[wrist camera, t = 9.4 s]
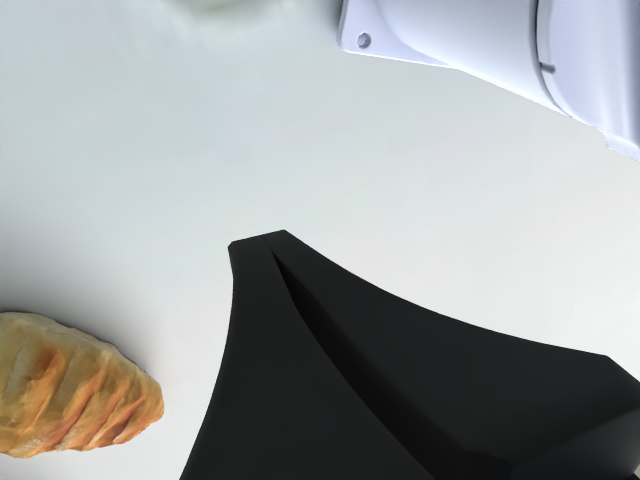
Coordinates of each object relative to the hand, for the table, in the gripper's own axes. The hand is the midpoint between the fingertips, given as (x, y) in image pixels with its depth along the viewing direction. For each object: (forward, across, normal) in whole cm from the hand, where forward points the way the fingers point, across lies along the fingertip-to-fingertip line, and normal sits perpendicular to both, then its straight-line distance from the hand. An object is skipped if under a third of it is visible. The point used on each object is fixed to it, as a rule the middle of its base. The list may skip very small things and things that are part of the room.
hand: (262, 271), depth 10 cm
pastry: (+10, +9, +10) cm, 17 cm away
